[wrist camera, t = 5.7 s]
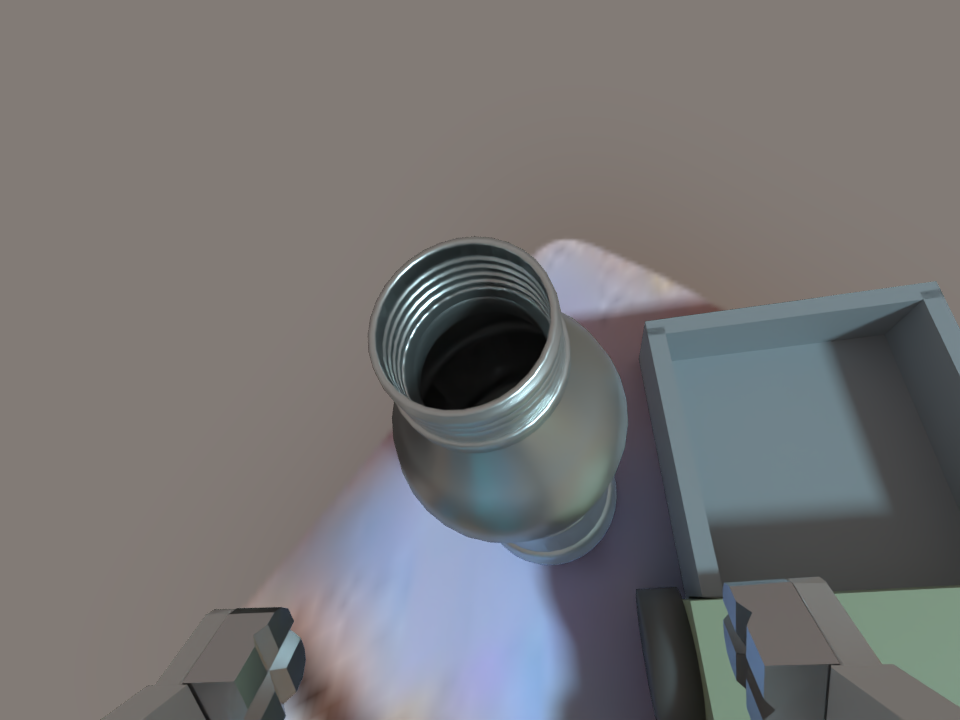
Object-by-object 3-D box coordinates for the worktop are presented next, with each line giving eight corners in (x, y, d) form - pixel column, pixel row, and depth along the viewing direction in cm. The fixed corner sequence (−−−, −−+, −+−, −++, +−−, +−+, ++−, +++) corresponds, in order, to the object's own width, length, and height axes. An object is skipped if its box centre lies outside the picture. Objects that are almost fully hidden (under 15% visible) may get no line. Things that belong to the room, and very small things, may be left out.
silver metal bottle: (617, 441, 28) (651, 165, 10) (612, 578, 25) (644, 539, 7) (499, 431, 29) (343, 178, 11) (482, 559, 27) (246, 489, 9)
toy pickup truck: (1222, 922, 17) (1503, 1070, 12) (682, 899, 20) (712, 1011, 15) (935, 321, 27) (1019, 252, 21) (597, 364, 30) (597, 313, 24)
